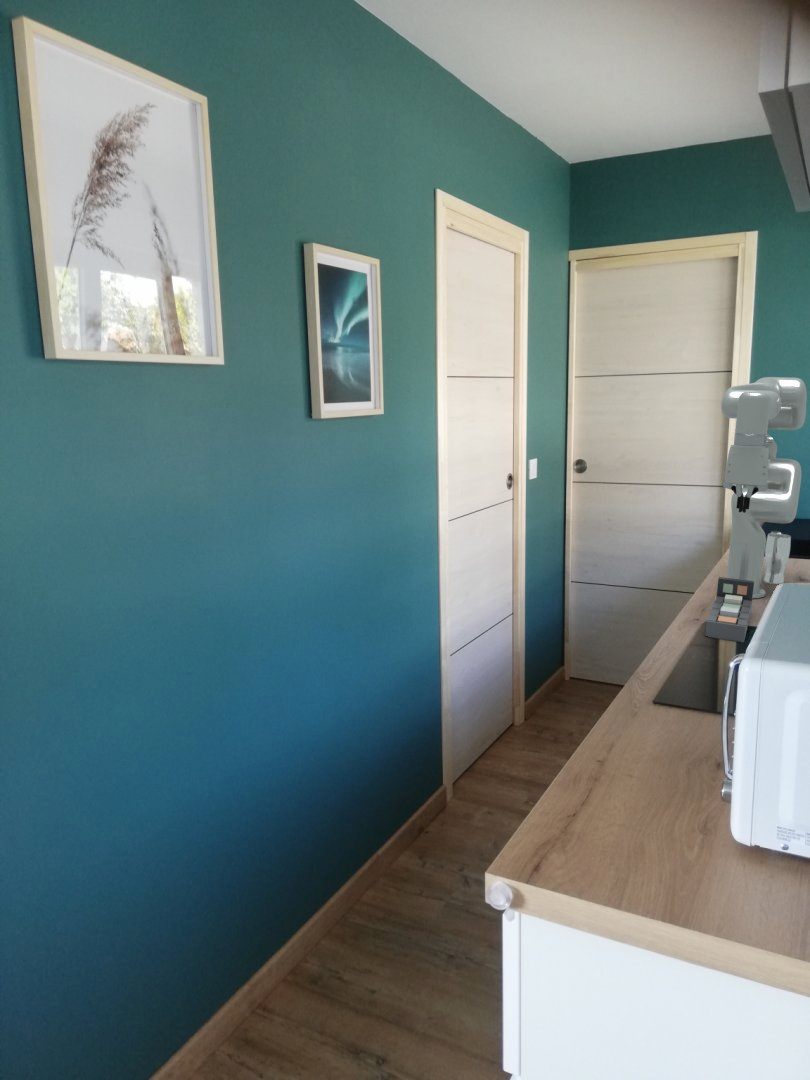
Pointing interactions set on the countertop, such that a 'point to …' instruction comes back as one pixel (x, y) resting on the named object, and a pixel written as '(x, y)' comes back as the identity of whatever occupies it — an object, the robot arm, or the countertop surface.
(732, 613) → the key grey
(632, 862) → the countertop surface
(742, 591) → the keypad
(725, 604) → the key sage
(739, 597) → the key cream
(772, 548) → the beer glass
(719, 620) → the key terracotta
